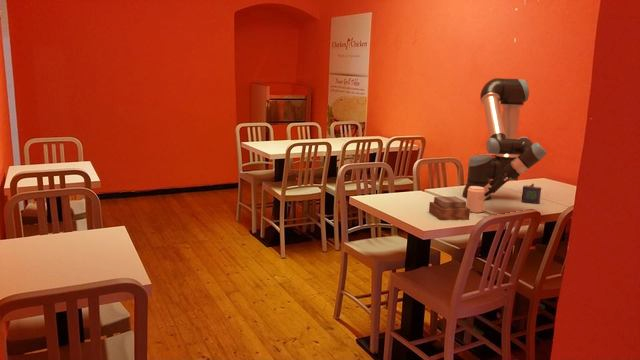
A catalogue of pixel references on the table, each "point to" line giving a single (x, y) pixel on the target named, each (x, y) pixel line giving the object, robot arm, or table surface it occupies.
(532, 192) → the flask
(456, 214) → the stepped brown pedestal
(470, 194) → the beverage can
